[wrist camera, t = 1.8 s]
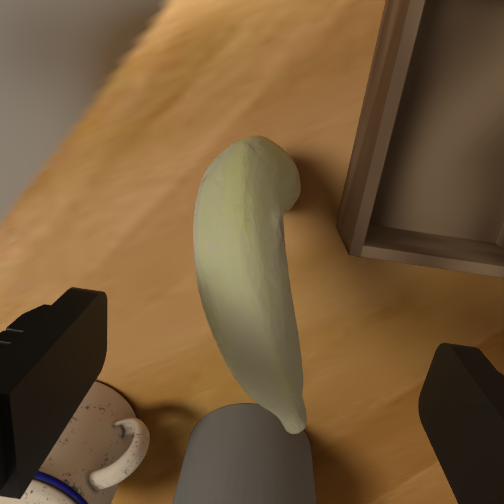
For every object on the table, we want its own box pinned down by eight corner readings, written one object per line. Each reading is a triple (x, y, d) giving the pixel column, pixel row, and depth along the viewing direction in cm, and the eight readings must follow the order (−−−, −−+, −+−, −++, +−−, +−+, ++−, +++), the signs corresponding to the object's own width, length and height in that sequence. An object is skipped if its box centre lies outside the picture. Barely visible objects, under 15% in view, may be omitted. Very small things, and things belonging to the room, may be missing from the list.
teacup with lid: (74, 474, 34) (-21, 648, 23) (8, 396, 32) (-133, 550, 21) (195, 432, 32) (152, 604, 21) (134, 343, 29) (50, 486, 18)
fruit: (283, 81, 21) (223, 98, 21) (254, 276, 9) (123, 296, 10) (311, 199, 25) (260, 209, 26) (316, 439, 13) (221, 443, 14)
